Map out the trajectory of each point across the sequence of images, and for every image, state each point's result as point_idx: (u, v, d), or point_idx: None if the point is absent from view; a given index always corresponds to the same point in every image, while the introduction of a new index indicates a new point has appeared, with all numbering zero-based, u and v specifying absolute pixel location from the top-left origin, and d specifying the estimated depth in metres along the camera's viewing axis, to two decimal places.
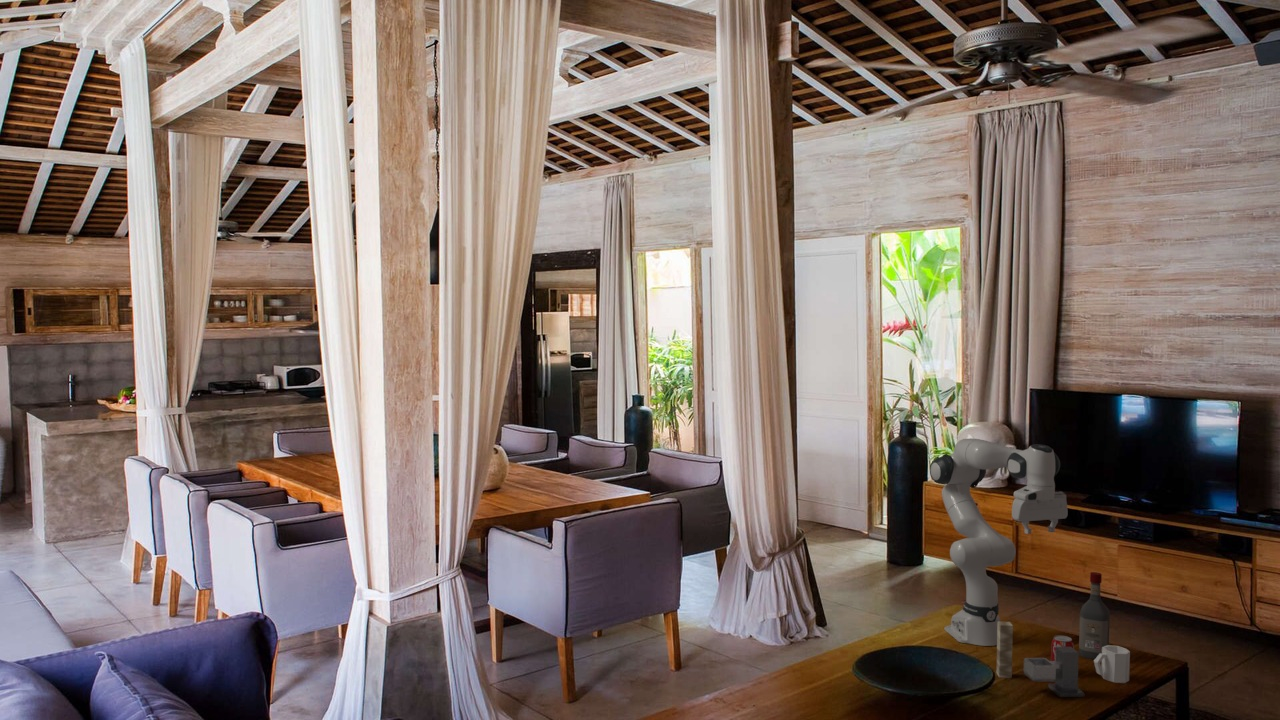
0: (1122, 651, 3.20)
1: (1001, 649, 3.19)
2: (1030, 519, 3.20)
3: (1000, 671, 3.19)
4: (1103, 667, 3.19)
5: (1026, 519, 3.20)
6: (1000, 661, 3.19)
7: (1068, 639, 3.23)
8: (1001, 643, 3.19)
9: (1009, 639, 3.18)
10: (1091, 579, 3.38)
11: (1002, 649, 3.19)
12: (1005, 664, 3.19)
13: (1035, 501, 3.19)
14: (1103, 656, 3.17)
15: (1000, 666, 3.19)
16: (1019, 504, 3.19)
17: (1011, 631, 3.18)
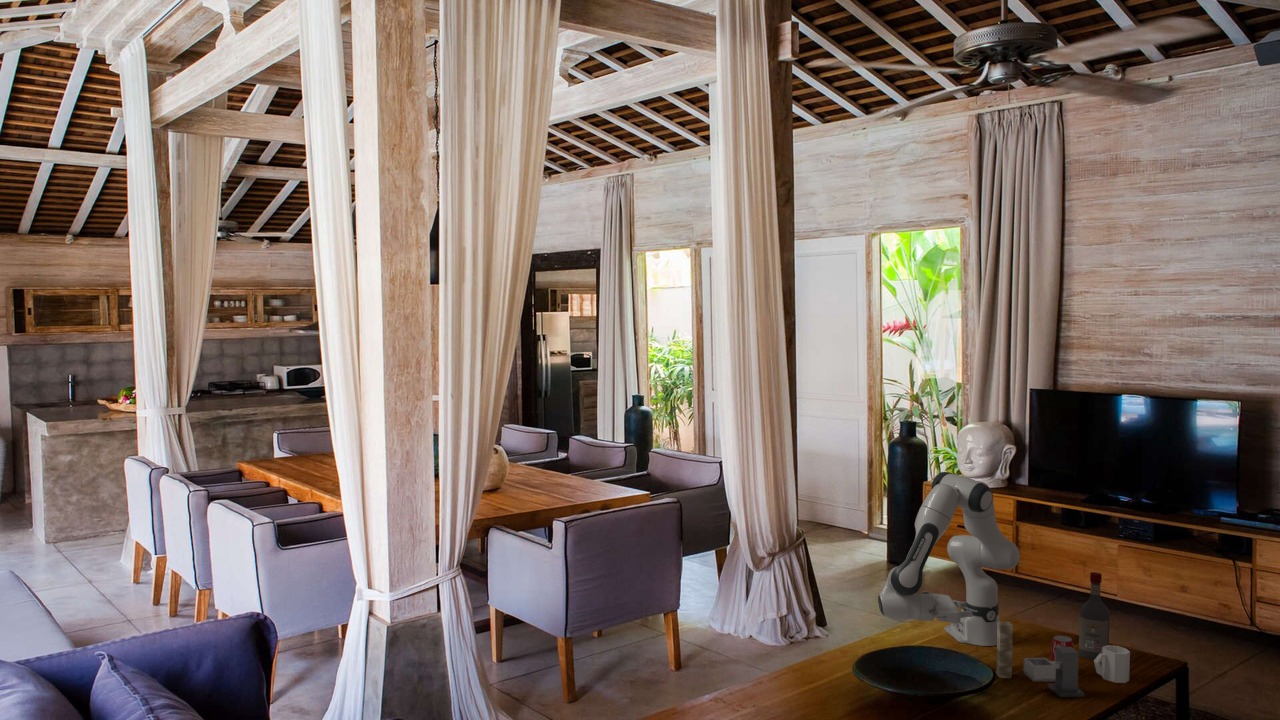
0: (1122, 651, 3.20)
1: (1001, 649, 3.19)
2: None
3: (1000, 671, 3.19)
4: (1103, 667, 3.19)
5: None
6: (1000, 661, 3.19)
7: (1068, 639, 3.23)
8: (1001, 643, 3.19)
9: (1009, 639, 3.18)
10: (1091, 579, 3.38)
11: (1002, 649, 3.19)
12: (1005, 664, 3.19)
13: None
14: (1103, 656, 3.17)
15: (1000, 666, 3.19)
16: None
17: (1011, 631, 3.18)
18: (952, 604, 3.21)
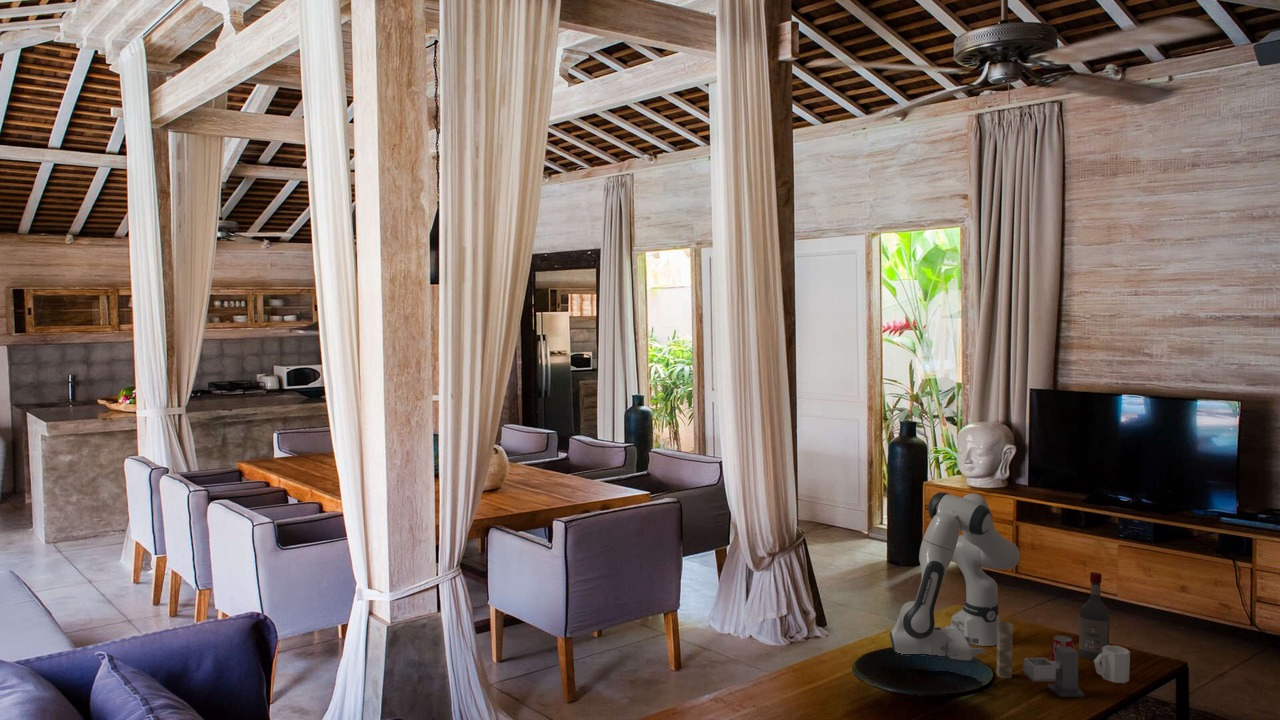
0: (1122, 651, 3.20)
1: (1001, 649, 3.19)
2: None
3: (1000, 671, 3.19)
4: (1103, 667, 3.19)
5: None
6: (1000, 661, 3.19)
7: (1068, 639, 3.23)
8: (1001, 643, 3.19)
9: (1009, 639, 3.18)
10: (1091, 579, 3.38)
11: (1002, 649, 3.19)
12: (1005, 664, 3.19)
13: None
14: (1103, 656, 3.17)
15: (1000, 666, 3.19)
16: None
17: (1011, 631, 3.18)
18: (964, 641, 3.21)
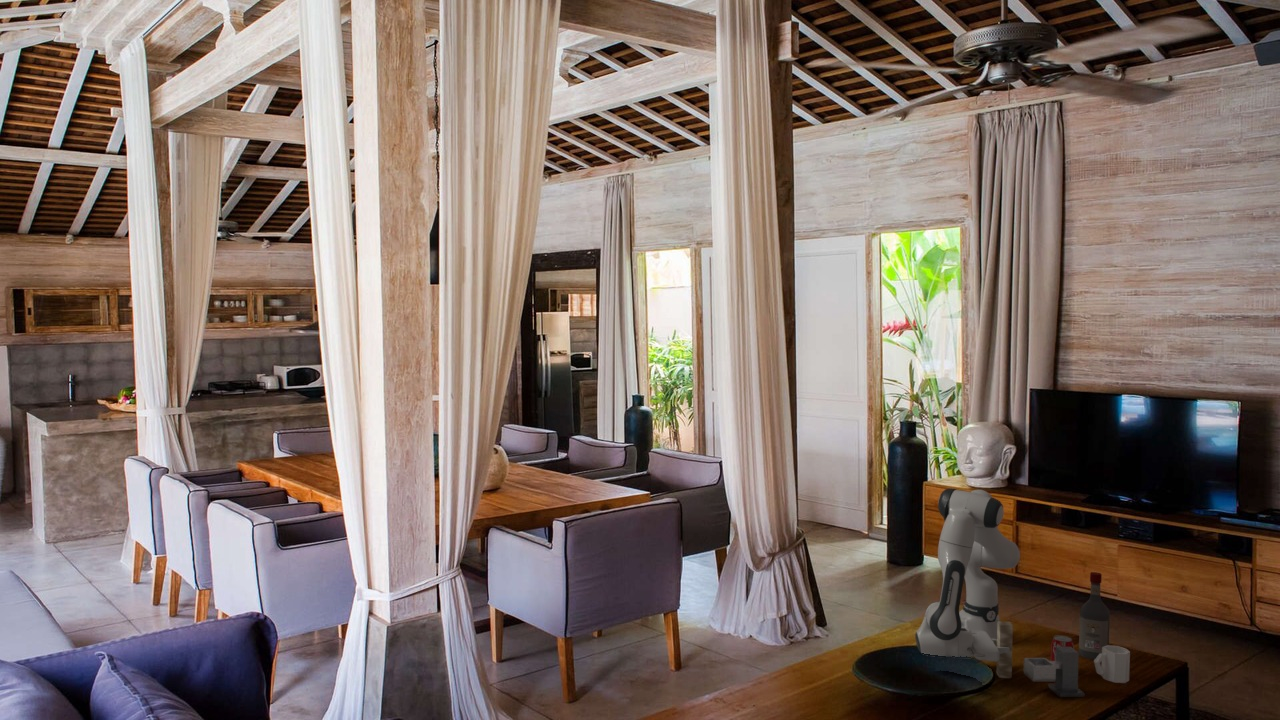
0: (1122, 651, 3.20)
1: None
2: None
3: (1000, 671, 3.19)
4: (1103, 667, 3.19)
5: None
6: (1000, 661, 3.19)
7: (1068, 639, 3.23)
8: (1001, 643, 3.19)
9: (1009, 639, 3.18)
10: (1091, 579, 3.38)
11: None
12: (1005, 664, 3.19)
13: None
14: (1103, 656, 3.17)
15: (1000, 666, 3.19)
16: None
17: (1011, 631, 3.18)
18: (990, 641, 3.20)
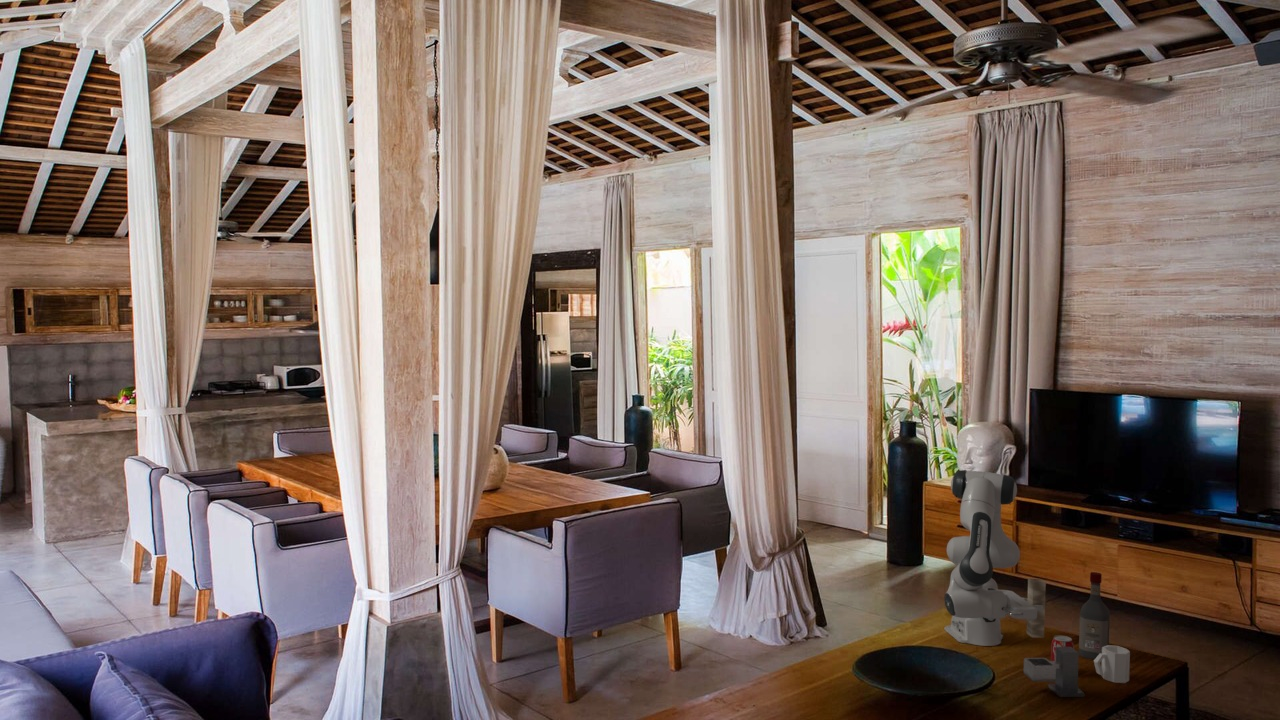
0: (1122, 651, 3.20)
1: None
2: None
3: (1033, 630, 3.05)
4: (1103, 667, 3.19)
5: None
6: (1033, 620, 3.05)
7: (1068, 639, 3.23)
8: (1034, 601, 3.04)
9: (1042, 596, 3.04)
10: (1091, 579, 3.38)
11: None
12: (1038, 623, 3.05)
13: None
14: (1103, 656, 3.17)
15: (1033, 625, 3.05)
16: None
17: (1044, 588, 3.04)
18: (1023, 600, 3.05)
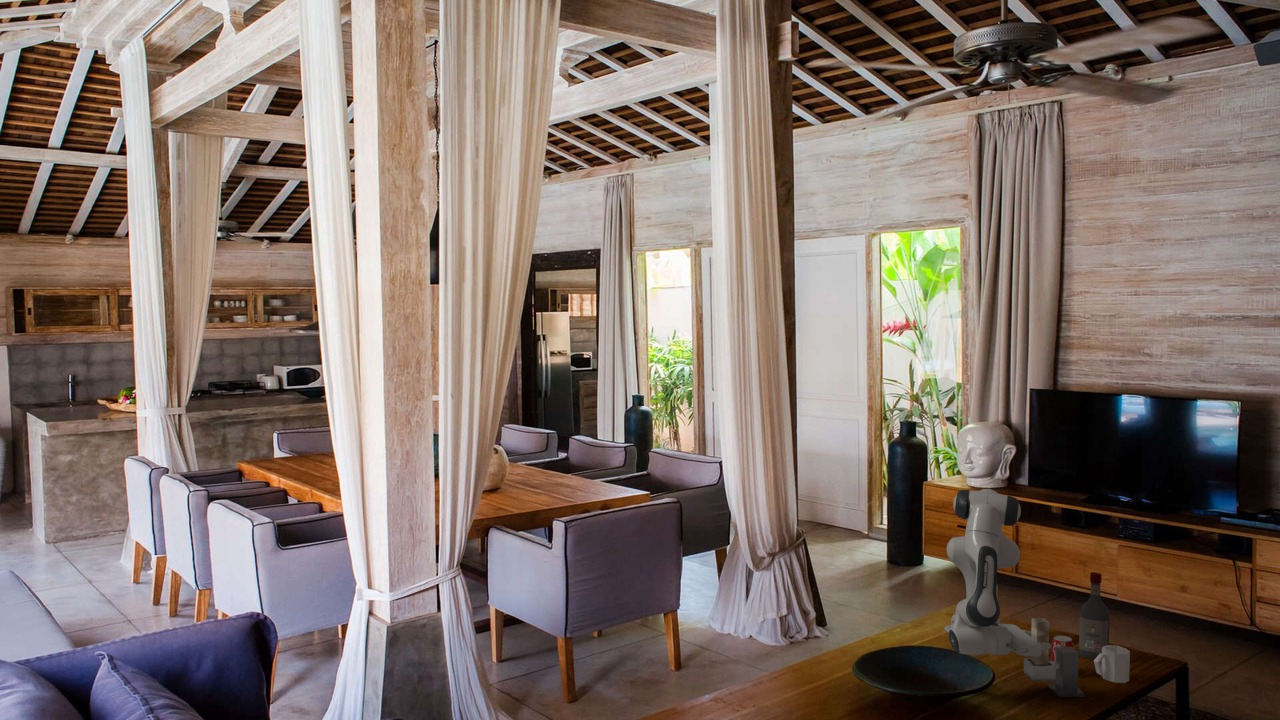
0: (1122, 651, 3.20)
1: None
2: None
3: None
4: (1103, 667, 3.19)
5: None
6: (1037, 660, 3.05)
7: (1068, 639, 3.23)
8: (1038, 641, 3.04)
9: (1046, 636, 3.04)
10: (1091, 579, 3.38)
11: None
12: (1042, 663, 3.05)
13: None
14: (1103, 656, 3.17)
15: (1037, 665, 3.05)
16: None
17: (1048, 628, 3.04)
18: (1027, 636, 3.05)
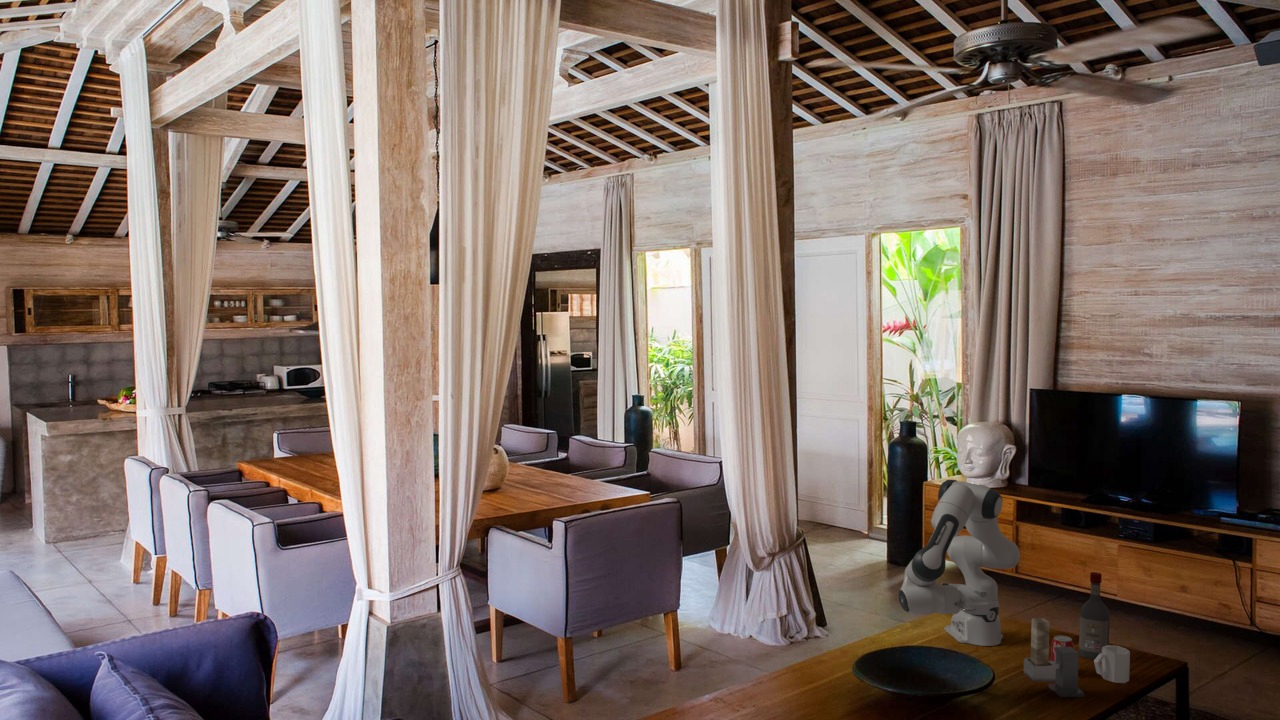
0: (1122, 651, 3.20)
1: (1038, 647, 3.04)
2: None
3: None
4: (1103, 667, 3.19)
5: None
6: (1037, 660, 3.05)
7: (1068, 639, 3.23)
8: (1038, 641, 3.04)
9: (1046, 636, 3.04)
10: (1091, 579, 3.38)
11: (1038, 647, 3.04)
12: (1042, 663, 3.05)
13: None
14: (1103, 656, 3.17)
15: (1037, 665, 3.05)
16: None
17: (1048, 628, 3.04)
18: (976, 595, 3.06)
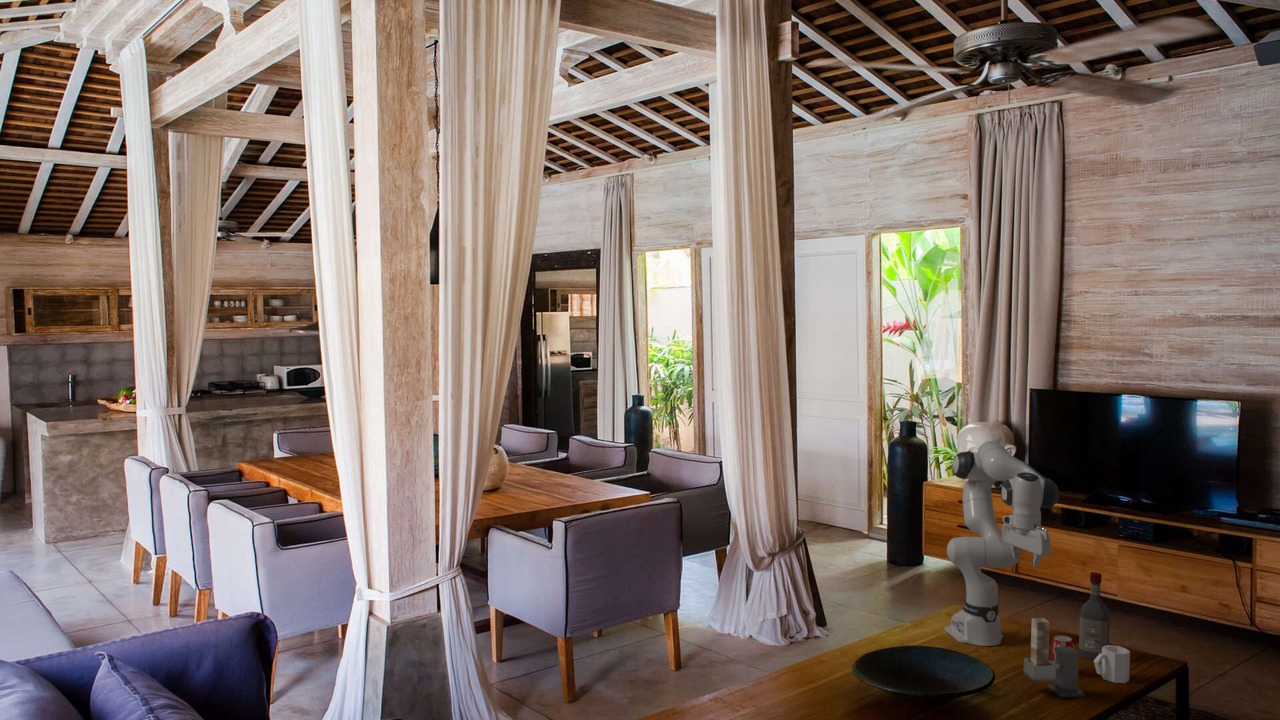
0: (1122, 651, 3.20)
1: (1038, 647, 3.04)
2: (1011, 543, 3.23)
3: None
4: (1103, 667, 3.19)
5: (1008, 542, 3.24)
6: (1037, 660, 3.05)
7: (1068, 639, 3.23)
8: (1038, 641, 3.04)
9: (1046, 636, 3.04)
10: (1091, 579, 3.38)
11: (1038, 647, 3.04)
12: (1042, 663, 3.05)
13: (1011, 526, 3.21)
14: (1103, 656, 3.17)
15: (1037, 665, 3.05)
16: None
17: (1048, 628, 3.04)
18: None
